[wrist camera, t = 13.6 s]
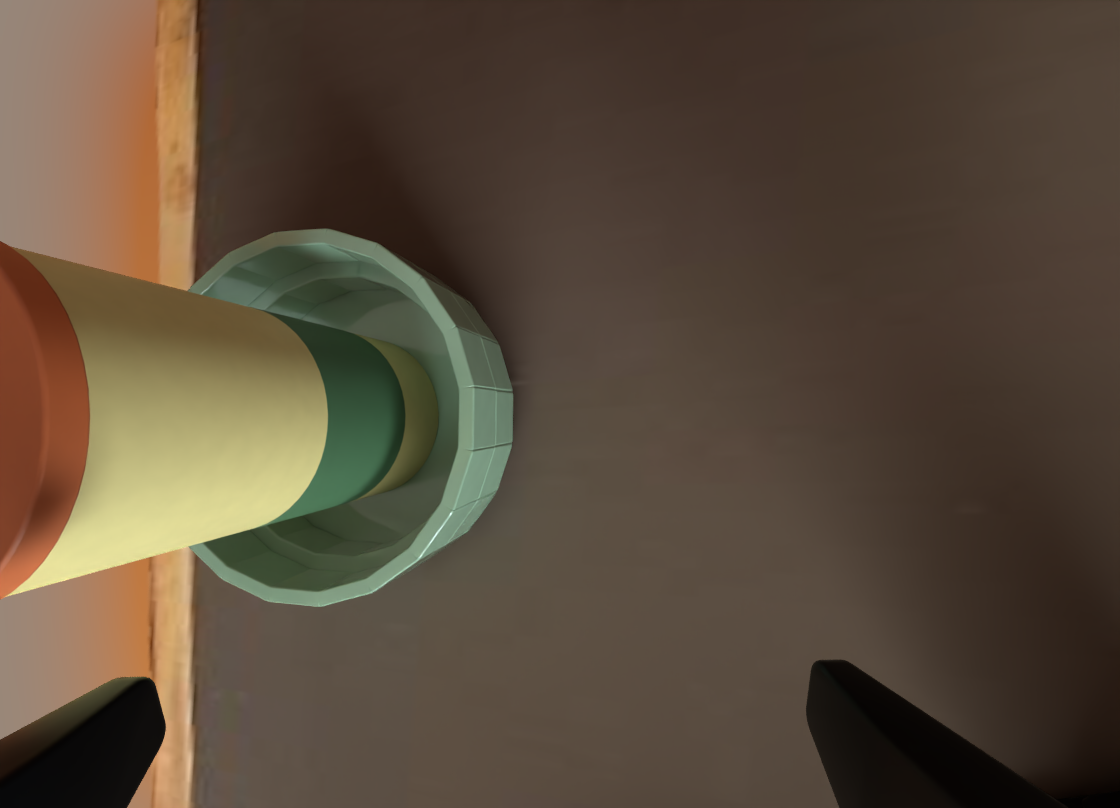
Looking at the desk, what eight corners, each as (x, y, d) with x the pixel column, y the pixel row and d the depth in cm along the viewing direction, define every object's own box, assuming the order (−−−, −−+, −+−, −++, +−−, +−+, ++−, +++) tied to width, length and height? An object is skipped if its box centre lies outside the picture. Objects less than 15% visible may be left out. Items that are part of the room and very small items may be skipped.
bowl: (557, 520, 19) (522, 553, 15) (290, 594, 21) (191, 641, 17) (468, 223, 20) (410, 170, 16) (222, 325, 22) (111, 303, 18)
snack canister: (460, 472, 19) (85, 578, 7) (319, 514, 20) (-214, 667, 8) (417, 315, 20) (-5, 151, 7) (281, 365, 21) (-276, 295, 9)
